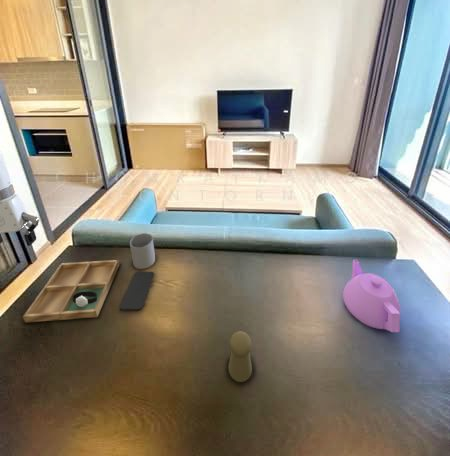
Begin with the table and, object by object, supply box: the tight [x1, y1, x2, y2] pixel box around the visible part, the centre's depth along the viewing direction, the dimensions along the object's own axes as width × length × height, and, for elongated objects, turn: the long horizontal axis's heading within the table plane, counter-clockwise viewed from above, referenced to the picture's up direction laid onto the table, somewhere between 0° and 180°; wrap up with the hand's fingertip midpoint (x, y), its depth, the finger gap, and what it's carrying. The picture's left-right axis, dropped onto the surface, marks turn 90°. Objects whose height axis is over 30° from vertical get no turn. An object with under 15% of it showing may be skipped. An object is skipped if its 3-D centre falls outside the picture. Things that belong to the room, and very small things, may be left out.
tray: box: [22, 259, 120, 323], centre depth 86 cm, size 21×21×2 cm
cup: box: [129, 232, 156, 270], centre depth 97 cm, size 8×8×10 cm
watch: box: [73, 291, 97, 307], centre depth 81 cm, size 8×5×4 cm, turn 87°
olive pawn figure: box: [228, 330, 253, 383], centre depth 62 cm, size 6×6×11 cm
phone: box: [119, 270, 155, 311], centre depth 86 cm, size 7×1×15 cm
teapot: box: [342, 259, 402, 333], centre depth 77 cm, size 22×16×12 cm
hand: (15, 243), depth 75 cm, fingers open, 9 cm apart
